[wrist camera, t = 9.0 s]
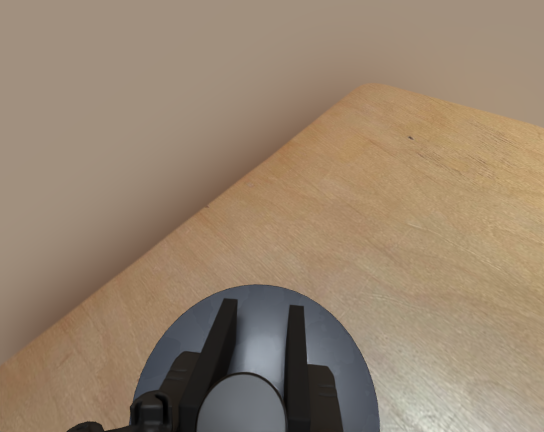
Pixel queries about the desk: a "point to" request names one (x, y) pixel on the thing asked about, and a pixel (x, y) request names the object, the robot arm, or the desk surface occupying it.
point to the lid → (265, 362)
